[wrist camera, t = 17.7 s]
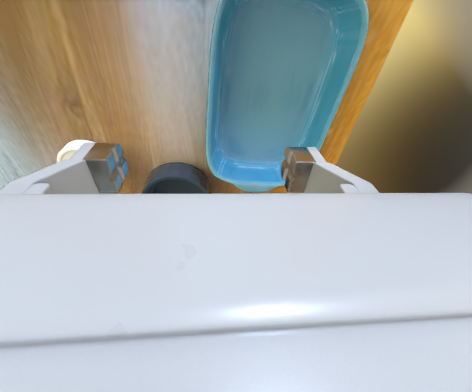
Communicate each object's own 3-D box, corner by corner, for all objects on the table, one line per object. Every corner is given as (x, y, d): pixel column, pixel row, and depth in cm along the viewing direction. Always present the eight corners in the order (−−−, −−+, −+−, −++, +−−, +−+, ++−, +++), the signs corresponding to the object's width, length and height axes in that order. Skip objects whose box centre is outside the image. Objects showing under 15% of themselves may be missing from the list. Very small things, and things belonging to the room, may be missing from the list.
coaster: (111, 141, 46) (104, 149, 44) (119, 179, 53) (114, 189, 50) (57, 136, 45) (47, 144, 42) (72, 176, 51) (65, 186, 49)
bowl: (152, 210, 60) (148, 226, 56) (140, 161, 50) (134, 176, 46) (210, 210, 62) (210, 225, 58) (210, 162, 52) (210, 176, 47)
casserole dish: (216, -64, 29) (216, -77, 24) (370, -29, 33) (401, -34, 27) (203, 170, 53) (202, 190, 48) (293, 176, 56) (302, 195, 51)
